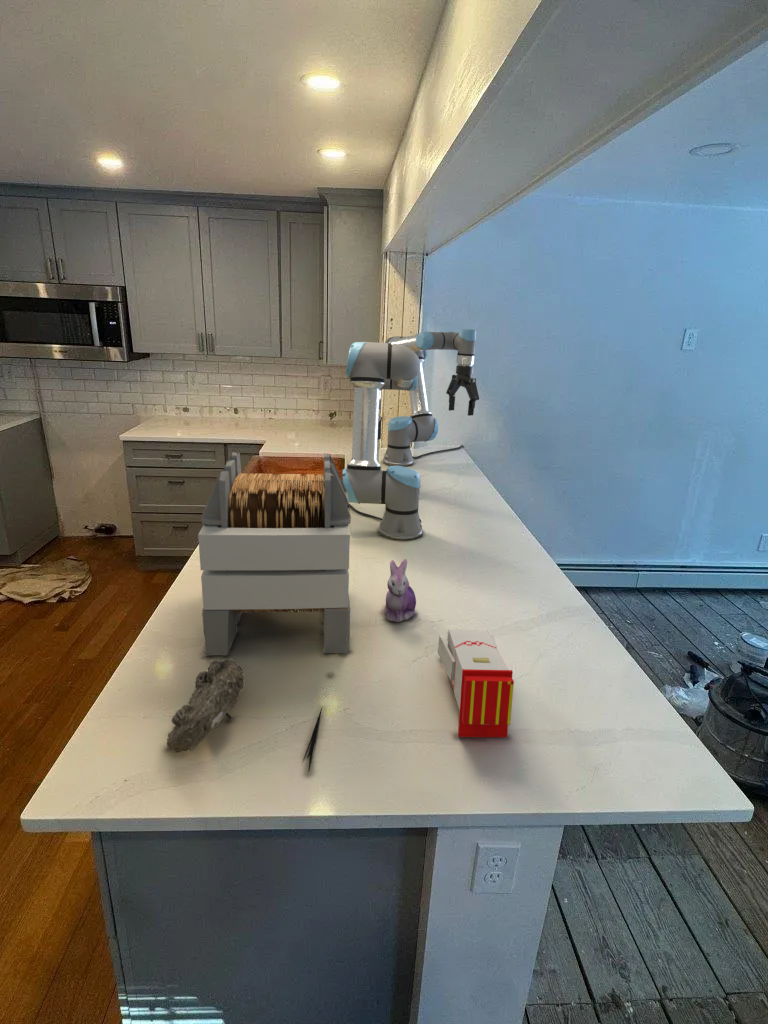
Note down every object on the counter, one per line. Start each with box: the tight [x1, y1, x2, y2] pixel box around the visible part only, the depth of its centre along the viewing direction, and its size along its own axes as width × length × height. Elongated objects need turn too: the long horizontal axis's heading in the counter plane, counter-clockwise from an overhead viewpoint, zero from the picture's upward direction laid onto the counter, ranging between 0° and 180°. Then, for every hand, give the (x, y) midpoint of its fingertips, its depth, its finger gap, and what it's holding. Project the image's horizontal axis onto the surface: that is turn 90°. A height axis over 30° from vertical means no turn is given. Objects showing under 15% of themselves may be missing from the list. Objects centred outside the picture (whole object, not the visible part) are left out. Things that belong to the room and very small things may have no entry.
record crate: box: [197, 451, 352, 657], centre depth 136 cm, size 34×33×41 cm
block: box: [377, 439, 380, 462], centre depth 249 cm, size 6×5×12 cm
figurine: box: [384, 558, 417, 623], centre depth 145 cm, size 9×10×15 cm
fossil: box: [166, 658, 245, 754], centre depth 106 cm, size 22×10×15 cm
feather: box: [301, 673, 332, 771], centre depth 108 cm, size 2×28×2 cm
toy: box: [437, 628, 515, 738], centre depth 117 cm, size 12×13×30 cm
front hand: (370, 452), depth 250 cm, fingers closed on block, 5 cm apart
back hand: (460, 412), depth 260 cm, fingers open, 13 cm apart
